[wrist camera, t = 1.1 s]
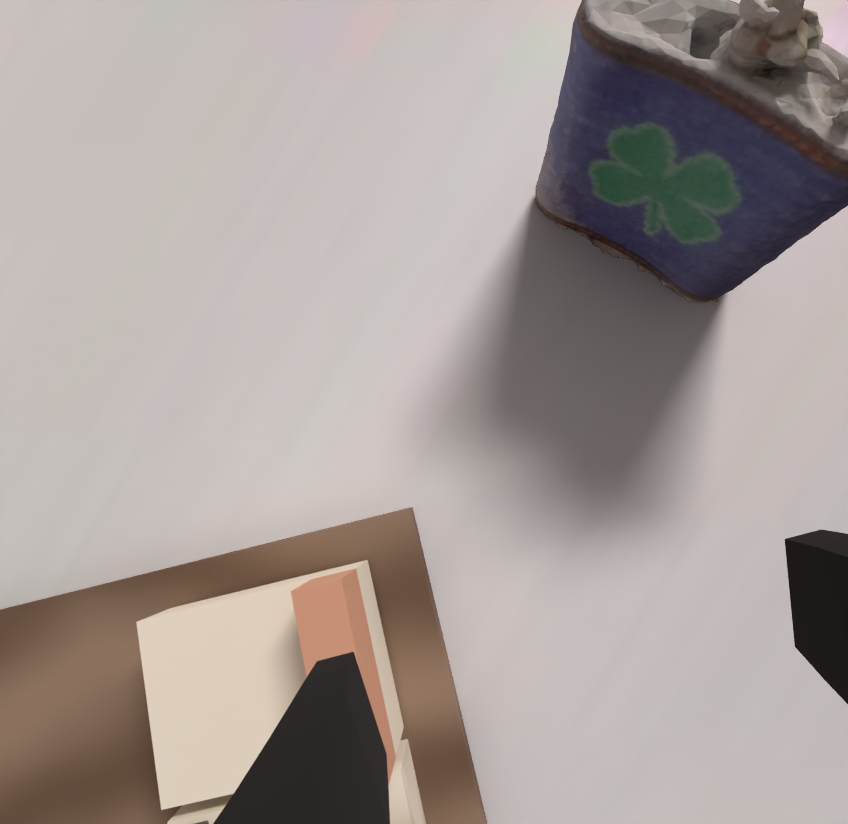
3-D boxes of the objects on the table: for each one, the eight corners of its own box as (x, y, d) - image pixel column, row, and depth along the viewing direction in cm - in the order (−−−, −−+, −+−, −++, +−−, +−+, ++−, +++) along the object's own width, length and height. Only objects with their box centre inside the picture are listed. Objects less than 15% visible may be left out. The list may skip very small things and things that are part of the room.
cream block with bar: (403, 726, 18) (385, 795, 14) (194, 774, 18) (118, 855, 14) (367, 559, 19) (341, 579, 15) (170, 608, 19) (92, 639, 15)
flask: (523, 207, 22) (579, -63, 11) (559, 156, 22) (649, -155, 11) (709, 318, 20) (980, 130, 10) (746, 262, 20) (1051, 20, 10)
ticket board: (517, 953, 17) (529, 1054, 14) (-6, 1060, 18) (-101, 1177, 15) (412, 507, 20) (402, 510, 17) (-38, 619, 21) (-125, 641, 18)
